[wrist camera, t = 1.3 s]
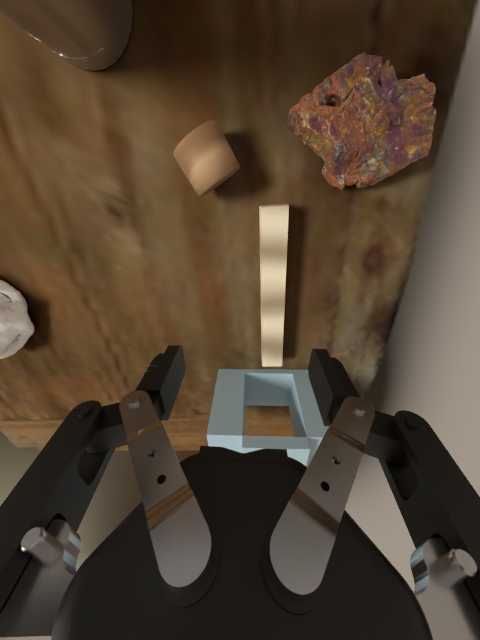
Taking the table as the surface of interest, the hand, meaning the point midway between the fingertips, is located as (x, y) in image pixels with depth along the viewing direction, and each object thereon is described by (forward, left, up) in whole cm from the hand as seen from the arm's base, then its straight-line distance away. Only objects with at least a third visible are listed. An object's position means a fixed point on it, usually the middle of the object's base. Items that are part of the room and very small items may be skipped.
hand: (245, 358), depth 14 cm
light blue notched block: (+21, +3, -18) cm, 28 cm away
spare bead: (-12, -4, -18) cm, 22 cm away
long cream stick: (+3, +3, -18) cm, 19 cm away
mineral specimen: (-13, +10, -18) cm, 25 cm away
